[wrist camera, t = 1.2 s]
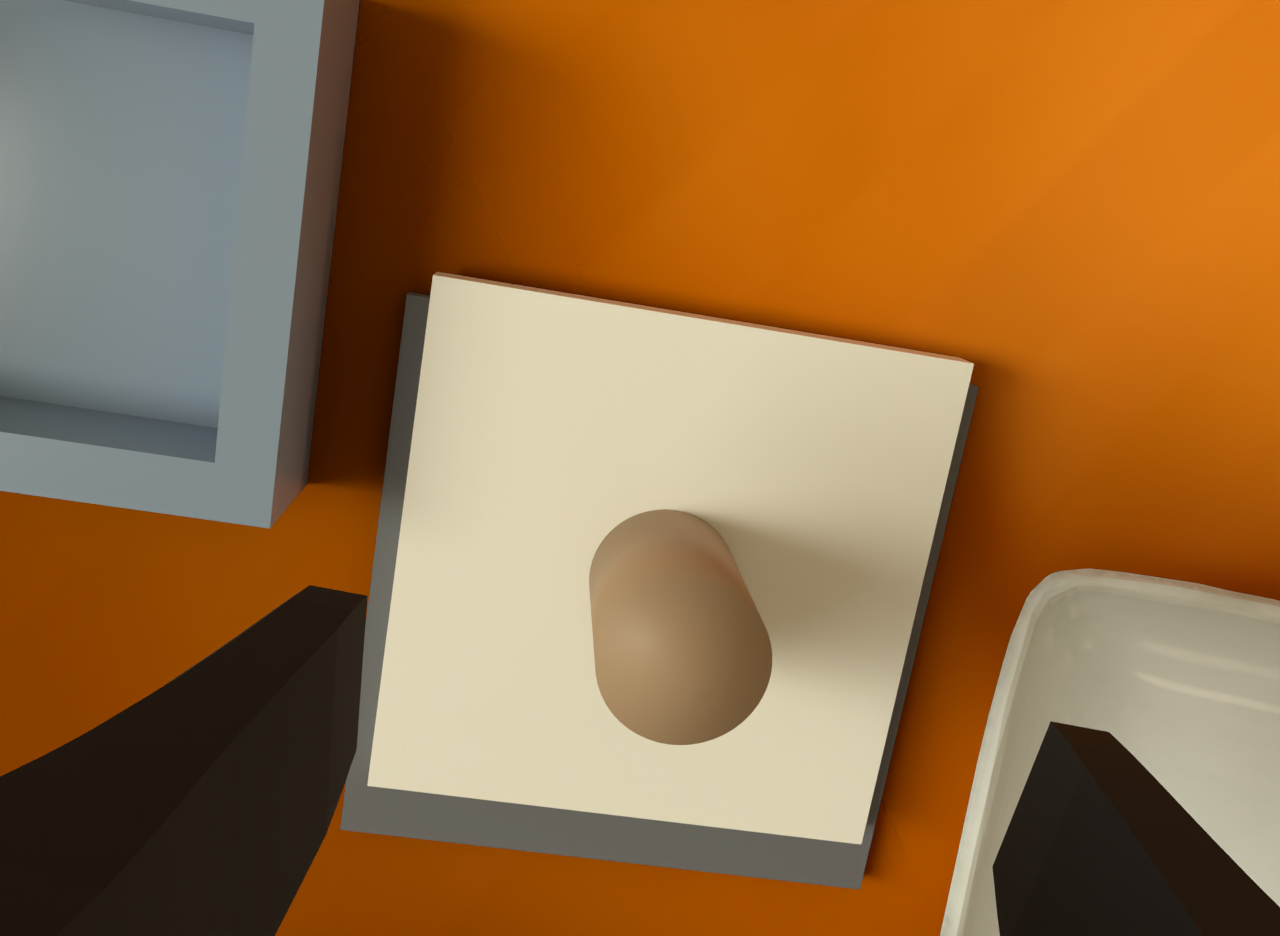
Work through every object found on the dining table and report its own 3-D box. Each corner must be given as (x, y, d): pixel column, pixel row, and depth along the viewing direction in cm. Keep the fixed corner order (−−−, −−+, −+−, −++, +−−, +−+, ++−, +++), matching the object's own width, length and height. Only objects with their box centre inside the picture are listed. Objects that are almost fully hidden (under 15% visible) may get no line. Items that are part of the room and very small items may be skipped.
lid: (851, 823, 25) (919, 971, 20) (373, 765, 24) (327, 908, 19) (959, 357, 23) (1063, 402, 18) (437, 271, 22) (404, 295, 17)
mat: (854, 875, 26) (859, 889, 25) (344, 816, 25) (339, 829, 24) (969, 382, 23) (978, 386, 23) (410, 291, 22) (406, 294, 22)
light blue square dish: (306, 484, 23) (269, 528, 20) (-184, 413, 22) (-298, 448, 19) (360, -3, 21) (327, -34, 18) (-178, -103, 20) (-303, -152, 17)
